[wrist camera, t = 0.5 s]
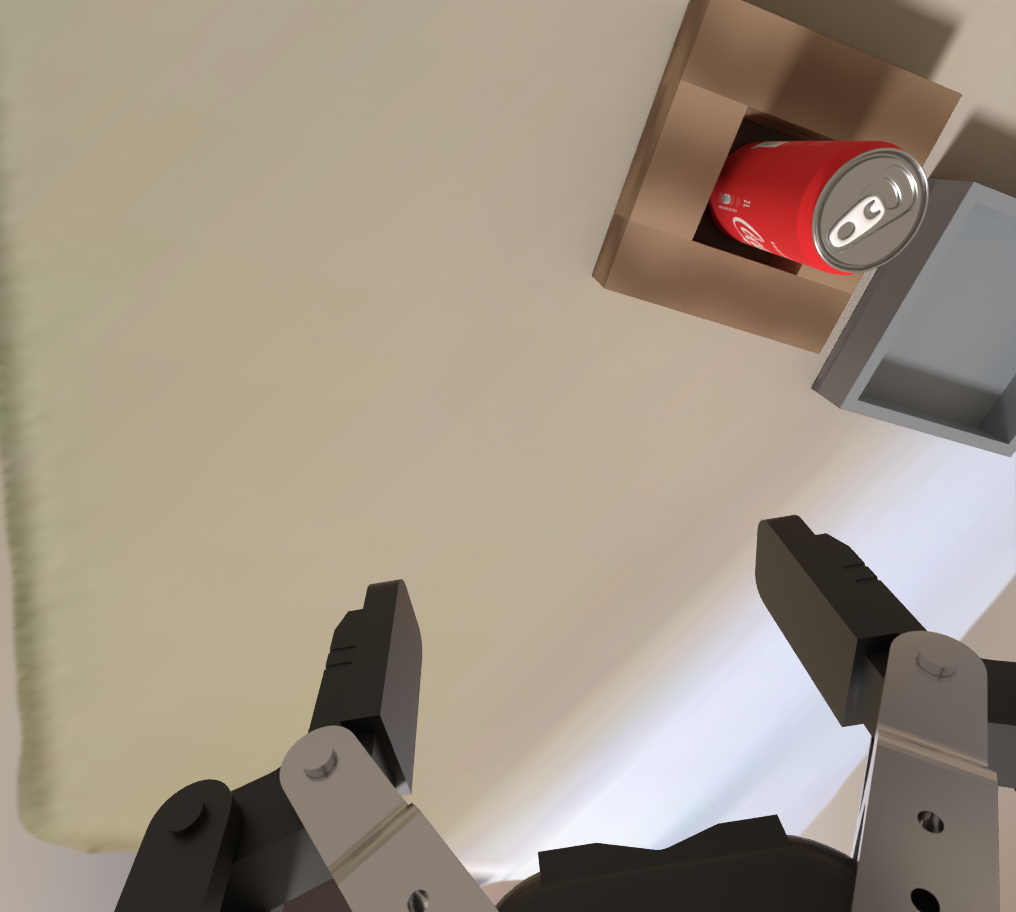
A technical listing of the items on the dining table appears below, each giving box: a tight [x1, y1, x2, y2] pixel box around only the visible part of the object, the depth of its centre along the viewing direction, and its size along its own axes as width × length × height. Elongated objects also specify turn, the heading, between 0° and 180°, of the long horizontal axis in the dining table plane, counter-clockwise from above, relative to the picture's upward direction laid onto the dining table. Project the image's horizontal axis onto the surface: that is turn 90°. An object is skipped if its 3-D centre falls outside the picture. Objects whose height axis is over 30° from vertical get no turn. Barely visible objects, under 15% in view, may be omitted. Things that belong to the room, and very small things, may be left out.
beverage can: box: [709, 141, 929, 275], centre depth 30 cm, size 5×5×12 cm
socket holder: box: [592, 0, 962, 354], centre depth 33 cm, size 14×14×4 cm
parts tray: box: [812, 178, 1016, 457], centre depth 38 cm, size 14×14×4 cm
